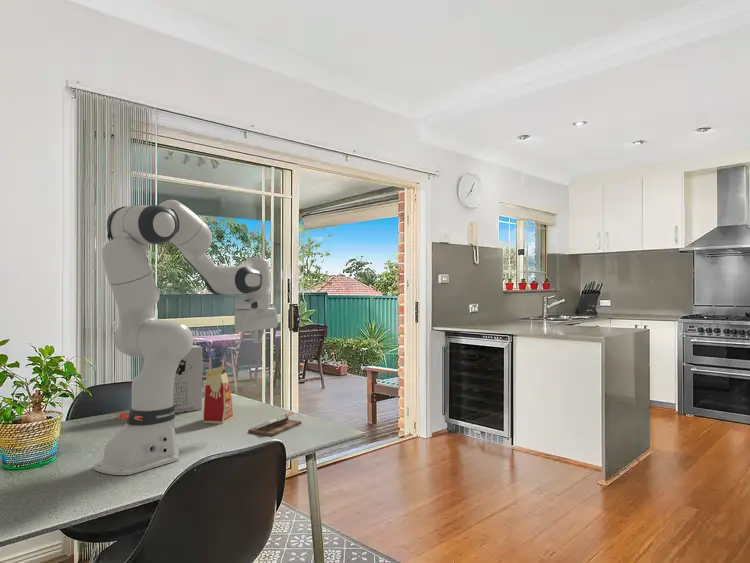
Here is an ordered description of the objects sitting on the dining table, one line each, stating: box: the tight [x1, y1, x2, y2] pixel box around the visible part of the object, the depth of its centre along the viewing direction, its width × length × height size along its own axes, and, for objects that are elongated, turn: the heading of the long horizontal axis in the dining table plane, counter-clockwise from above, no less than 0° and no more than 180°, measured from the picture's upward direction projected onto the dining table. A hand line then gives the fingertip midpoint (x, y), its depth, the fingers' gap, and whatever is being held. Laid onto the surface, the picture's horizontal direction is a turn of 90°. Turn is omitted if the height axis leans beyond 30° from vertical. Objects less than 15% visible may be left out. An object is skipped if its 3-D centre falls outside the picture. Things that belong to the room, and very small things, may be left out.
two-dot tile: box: [265, 415, 286, 423], centre depth 179 cm, size 4×6×1 cm, turn 65°
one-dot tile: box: [255, 417, 277, 429], centre depth 175 cm, size 4×6×1 cm, turn 65°
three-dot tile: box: [279, 411, 295, 418], centre depth 184 cm, size 4×6×1 cm, turn 65°
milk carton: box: [202, 365, 234, 425], centre depth 190 cm, size 9×9×20 cm
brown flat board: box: [247, 416, 302, 437], centre depth 179 cm, size 17×10×2 cm, turn 155°
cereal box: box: [139, 344, 203, 413], centre depth 204 cm, size 22×8×25 cm, turn 124°
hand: (257, 342), depth 183 cm, fingers closed
